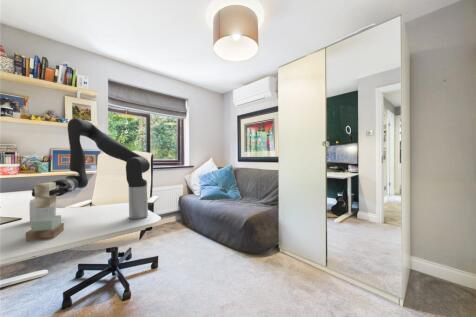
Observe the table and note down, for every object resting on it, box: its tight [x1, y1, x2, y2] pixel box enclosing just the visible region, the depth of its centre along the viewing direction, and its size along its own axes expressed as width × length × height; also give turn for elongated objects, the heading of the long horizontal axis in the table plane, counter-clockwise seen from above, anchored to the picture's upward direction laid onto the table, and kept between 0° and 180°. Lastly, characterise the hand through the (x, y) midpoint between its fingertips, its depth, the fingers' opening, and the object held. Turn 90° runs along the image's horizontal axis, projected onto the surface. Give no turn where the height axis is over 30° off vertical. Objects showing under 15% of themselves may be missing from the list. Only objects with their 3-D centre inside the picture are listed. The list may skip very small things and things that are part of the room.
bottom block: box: [25, 222, 65, 242], centre depth 88 cm, size 9×9×4 cm
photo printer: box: [28, 198, 57, 223], centre depth 108 cm, size 10×4×12 cm, turn 123°
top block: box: [30, 214, 62, 231], centre depth 88 cm, size 7×7×4 cm
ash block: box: [33, 181, 57, 208], centre depth 88 cm, size 5×5×10 cm
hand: (42, 193), depth 85 cm, fingers closed on ash block, 5 cm apart
